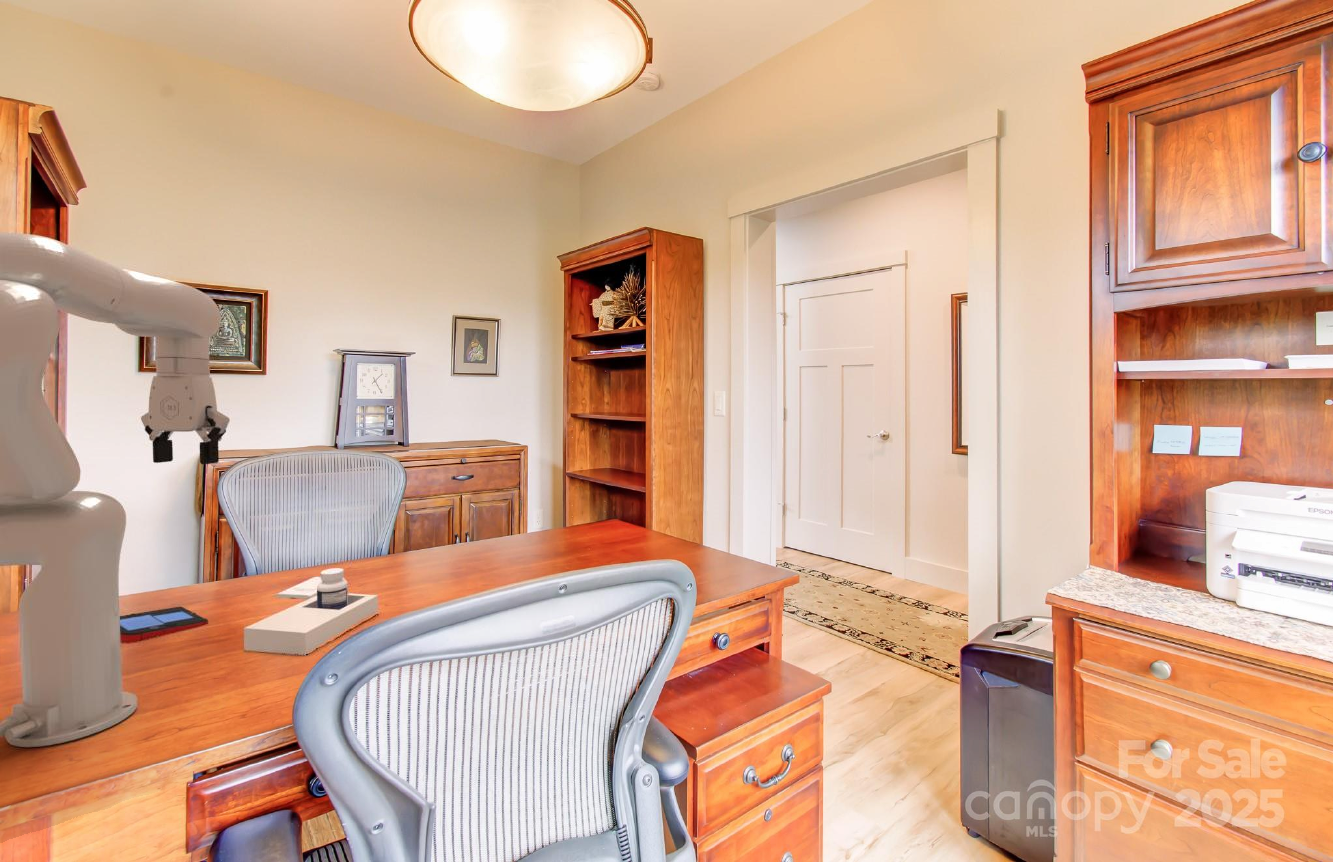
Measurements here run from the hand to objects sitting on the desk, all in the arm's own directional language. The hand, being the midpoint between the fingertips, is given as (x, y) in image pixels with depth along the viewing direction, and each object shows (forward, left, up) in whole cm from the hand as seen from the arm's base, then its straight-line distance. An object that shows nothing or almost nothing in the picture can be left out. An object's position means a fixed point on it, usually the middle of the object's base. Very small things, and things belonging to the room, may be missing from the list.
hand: (186, 462), depth 108 cm
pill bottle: (+11, -21, -32) cm, 40 cm away
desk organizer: (+6, -21, -32) cm, 39 cm away
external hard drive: (+28, -2, -33) cm, 43 cm away
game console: (+3, +11, -33) cm, 35 cm away
